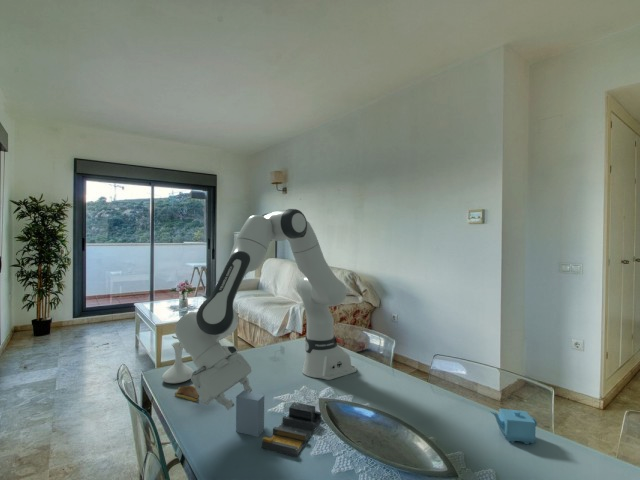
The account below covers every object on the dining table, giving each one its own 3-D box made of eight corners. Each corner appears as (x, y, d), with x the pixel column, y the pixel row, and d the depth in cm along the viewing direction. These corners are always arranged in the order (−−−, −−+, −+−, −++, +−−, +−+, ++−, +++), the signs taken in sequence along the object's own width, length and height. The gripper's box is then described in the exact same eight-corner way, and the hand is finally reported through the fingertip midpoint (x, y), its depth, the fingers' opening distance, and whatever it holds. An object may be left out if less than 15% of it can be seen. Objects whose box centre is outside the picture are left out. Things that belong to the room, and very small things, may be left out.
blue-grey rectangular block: (236, 431, 95) (236, 396, 95) (242, 424, 99) (243, 390, 99) (257, 436, 93) (258, 400, 93) (264, 429, 96) (264, 395, 96)
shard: (197, 403, 112) (198, 398, 112) (172, 406, 109) (172, 401, 109) (198, 389, 122) (198, 384, 122) (175, 392, 119) (175, 387, 119)
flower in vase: (162, 388, 121) (163, 319, 120) (161, 376, 131) (161, 312, 130) (200, 382, 127) (201, 315, 126) (196, 371, 137) (197, 309, 136)
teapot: (492, 441, 93) (493, 414, 92) (486, 429, 98) (486, 403, 98) (541, 447, 90) (542, 419, 90) (531, 434, 96) (532, 408, 96)
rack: (261, 448, 88) (261, 431, 88) (291, 412, 106) (291, 398, 106) (296, 457, 85) (296, 439, 84) (321, 418, 102) (321, 404, 102)
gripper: (195, 367, 89) (226, 411, 86) (238, 344, 109) (265, 379, 105) (181, 381, 91) (211, 425, 88) (226, 356, 110) (252, 391, 107)
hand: (241, 400), depth 97 cm, fingers open, 8 cm apart
